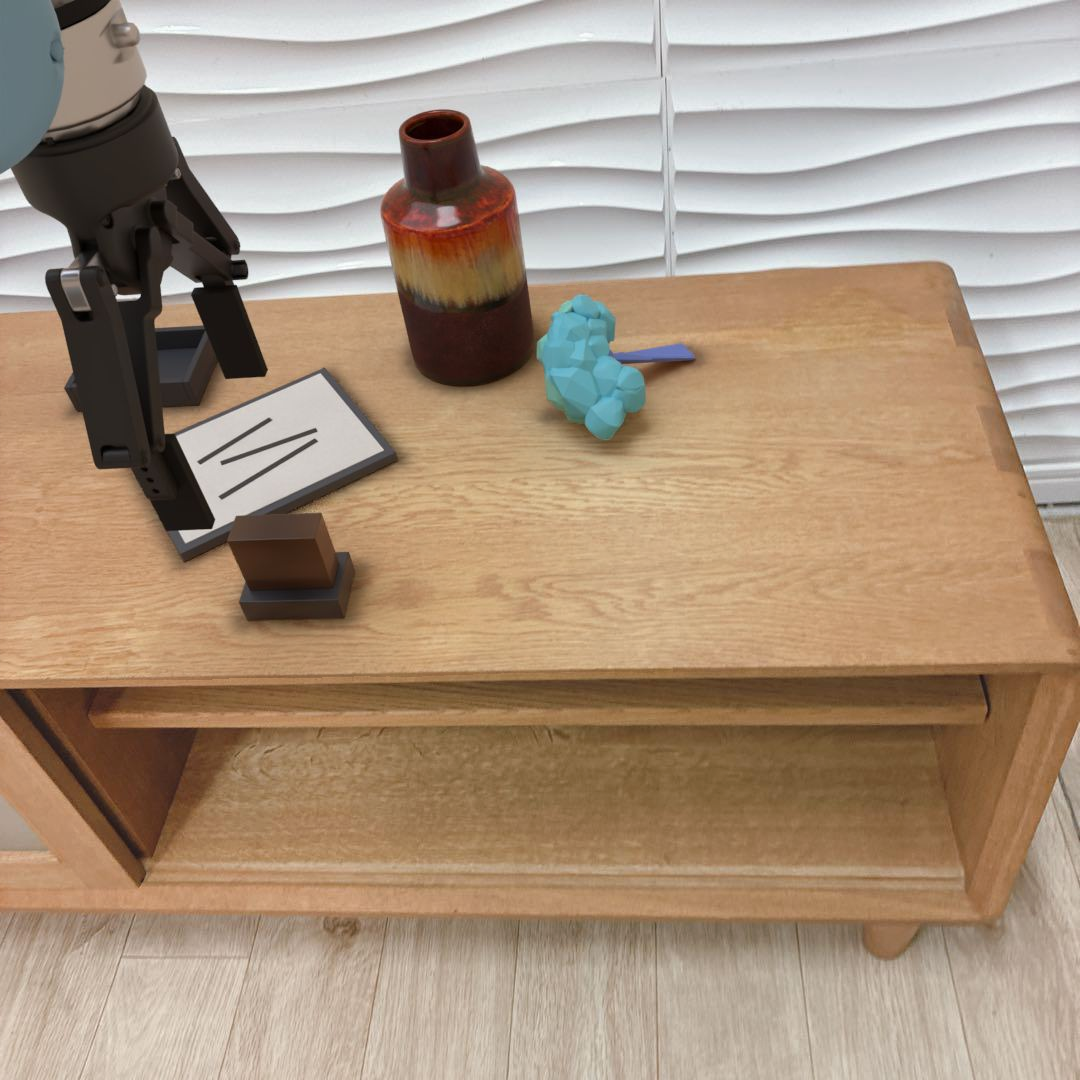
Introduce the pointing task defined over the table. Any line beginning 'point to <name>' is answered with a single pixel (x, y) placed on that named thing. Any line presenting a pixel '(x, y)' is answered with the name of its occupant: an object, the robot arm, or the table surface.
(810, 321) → the table surface
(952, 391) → the table surface
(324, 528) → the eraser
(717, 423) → the table surface
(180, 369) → the tray
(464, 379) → the vase
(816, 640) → the table surface
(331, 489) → the whiteboard
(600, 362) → the light blue toy tree
